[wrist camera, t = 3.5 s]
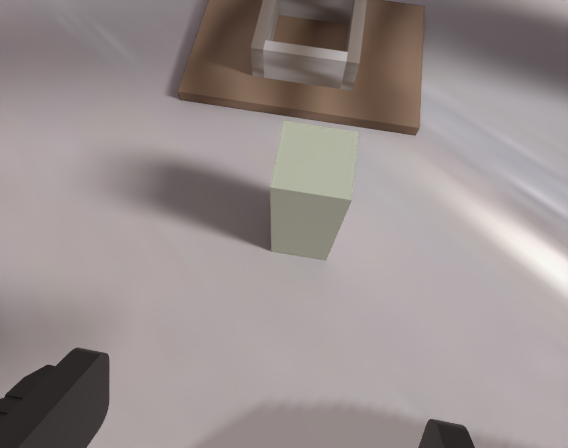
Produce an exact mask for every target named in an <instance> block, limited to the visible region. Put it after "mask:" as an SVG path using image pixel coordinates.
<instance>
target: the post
mask: <svg viewBox="0 0 568 448" xmlns="http://www.w3.org/2000/svg"><path fill="white" fill-rule="evenodd" d="M358 137H359V132H356V131H350V130H343V129H336V128H330V127H323V126H316V125H310V124H303V123H297V122H290V121H283V125H282V130H281V135H280V140H279V145H278V150H277V155H276V160H275V165H274V170H273V175H272V180H271V185H270V209H271V251H272V252H278V253H284V254H290V255H296V256H302V257H308V258H314V259H320V260H326V259H327V257H328V255H329V252H330V250H331V248H332V245H333V243H334V241H335V238H336V236H337V233H338V231H339V229H340V226H341V224H342V222H343V219H344V217H345V215H346V212H347V210H348V207H349V205H350V203H351V200H352V192H353V183H354V174H355V165H356V156H357V147H358Z"/></svg>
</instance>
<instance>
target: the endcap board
mask: <svg viewBox="0 0 568 448" xmlns="http://www.w3.org/2000/svg"><path fill="white" fill-rule="evenodd" d="M423 29H424V6H419V5H412V4H405V3H398V2H390V1H383V0H209V1H208V4H207V7H206V9H205V12H204V15H203V18H202V21H201V24H200V27H199V30H198V33H197V36H196V39H195V42H194V45H193V48H192V51H191V54H190V57H189V60H188V62H187V65H186V68H185V71H184V74H183V77H182V80H181V83H180V86H179V89H178V94H179V97H180V100H186V101H192V102H199V103H206V104H212V105H219V106H225V107H232V108H239V109H245V110H252V111H259V112H265V113H272V114H278V115H285V116H292V117H298V118H305V119H311V120H318V121H325V122H331V123H338V124H344V125H351V126H358V127H364V128H371V129H377V130H384V131H391V132H397V133H404V134H410V135H416V133H417V132H418V130H419V128H420V106H421V80H422V55H423Z"/></svg>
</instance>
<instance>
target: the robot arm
mask: <svg viewBox="0 0 568 448" xmlns="http://www.w3.org/2000/svg"><path fill="white" fill-rule="evenodd" d="M108 406H109V356H108V354H107V353H103V352H98V351H92V350H87V349H82V348H75V349H73V350H72V351H71V352H70V353H69V354H68V355H67V356H66V357H64V358H63V359H62V360H61V361H60V362H59V363H58V364H57V365H56V366H52V365H46V366H44V367H42V368H41V369H39V370H37V371H35V372H33V373H31V374H29V375H28V376H26V377H24V378H23V379H22V380H21V381H20V382H19V383H17V384H16V385H15V386H14V387H13V388H12V389H11V390H10V391H9V392H8V393H7V394H6V395H5V397H4V398H1V399H0V448H87V446H88V445H89V443H90V442H91V440H92V439H93V437H94V436H95V434H96V433H97V432H98V430H99V429H100V427H101V425H102V423H103V421H104V419H105V416H106V414H107V410H108ZM419 448H475V447H474V445H473V442H472V440H471V437H470V435H469V433H468V431H467V429H466V427H464V426H463V425H459V424H454V423H449V422H444V421H439V420H434V419H430V420H429V421H428V422H427V425H426V427H425V430H424V433H423V436H422V439H421V442H420V445H419Z"/></svg>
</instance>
